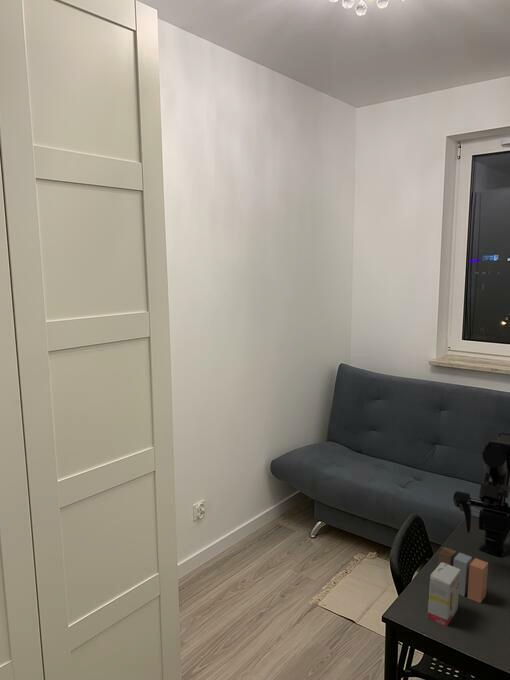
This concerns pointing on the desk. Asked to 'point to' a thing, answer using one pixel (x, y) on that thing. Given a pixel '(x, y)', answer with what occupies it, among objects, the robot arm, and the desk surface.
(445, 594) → the ink box
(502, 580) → the desk surface
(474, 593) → the terracotta block
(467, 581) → the slate block
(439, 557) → the walnut block
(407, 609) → the desk surface
